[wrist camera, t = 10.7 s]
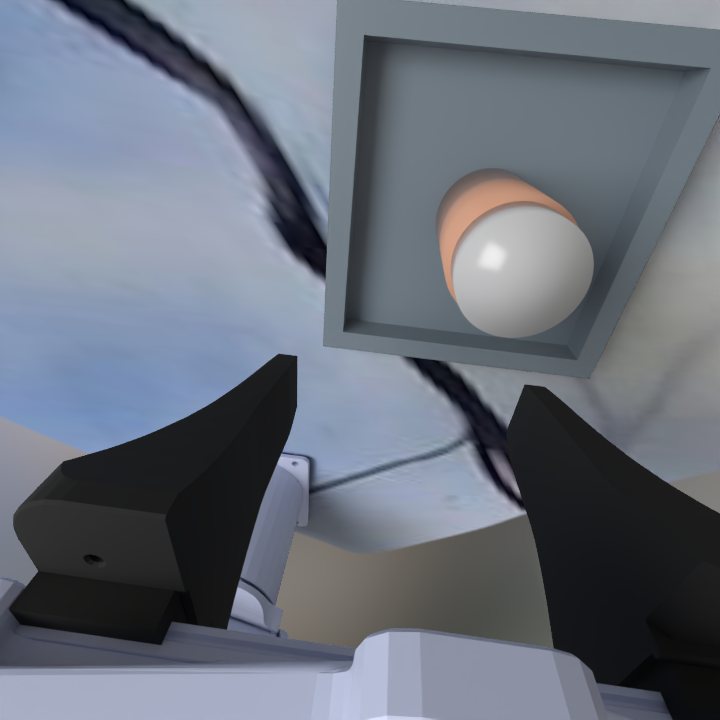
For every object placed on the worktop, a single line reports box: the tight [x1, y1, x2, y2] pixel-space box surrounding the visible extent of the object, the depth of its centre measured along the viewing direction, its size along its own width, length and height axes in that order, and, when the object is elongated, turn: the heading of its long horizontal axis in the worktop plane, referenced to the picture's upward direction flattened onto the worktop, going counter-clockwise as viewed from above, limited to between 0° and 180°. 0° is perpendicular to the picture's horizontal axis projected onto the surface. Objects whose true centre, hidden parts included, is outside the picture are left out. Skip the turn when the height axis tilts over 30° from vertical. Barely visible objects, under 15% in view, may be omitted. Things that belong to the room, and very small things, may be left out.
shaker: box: [436, 168, 594, 338], centre depth 15 cm, size 4×4×8 cm
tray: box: [323, 0, 720, 379], centre depth 18 cm, size 14×14×2 cm
